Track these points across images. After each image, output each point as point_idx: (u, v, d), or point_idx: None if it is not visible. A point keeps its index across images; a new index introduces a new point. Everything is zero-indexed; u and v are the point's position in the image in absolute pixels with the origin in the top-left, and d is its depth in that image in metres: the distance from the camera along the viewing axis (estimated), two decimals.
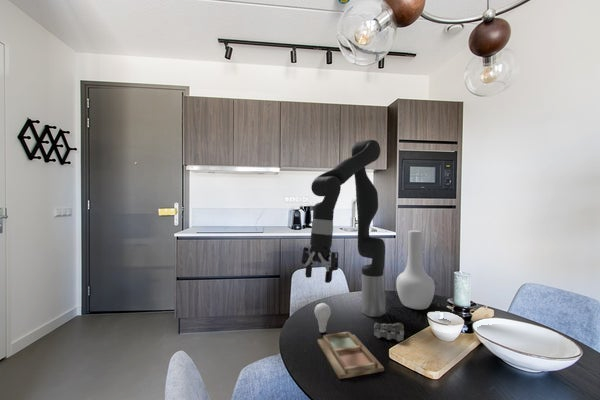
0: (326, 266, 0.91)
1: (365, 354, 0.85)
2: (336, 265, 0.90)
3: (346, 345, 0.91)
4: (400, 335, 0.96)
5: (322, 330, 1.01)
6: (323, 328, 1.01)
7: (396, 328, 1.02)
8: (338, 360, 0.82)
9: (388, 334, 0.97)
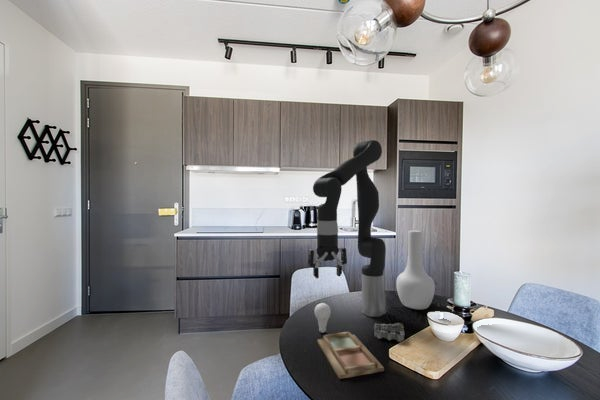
0: (339, 262, 0.99)
1: (365, 354, 0.85)
2: None
3: (346, 345, 0.91)
4: (401, 335, 0.96)
5: (322, 330, 1.01)
6: (323, 328, 1.01)
7: (396, 328, 1.02)
8: (338, 360, 0.82)
9: (389, 334, 0.97)
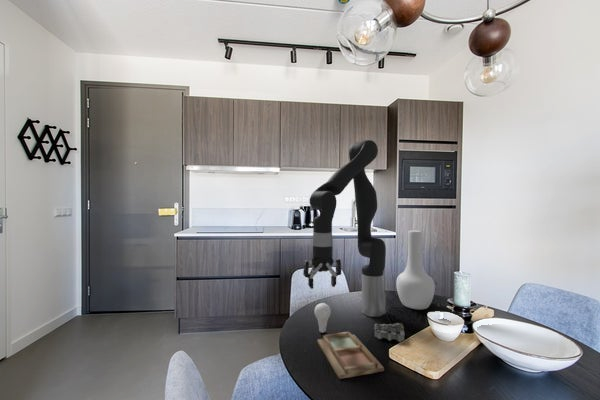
0: (333, 273, 1.02)
1: (365, 354, 0.85)
2: None
3: (346, 345, 0.91)
4: (401, 335, 0.96)
5: (322, 330, 1.01)
6: (323, 328, 1.01)
7: (396, 328, 1.02)
8: (338, 360, 0.82)
9: (389, 335, 0.97)
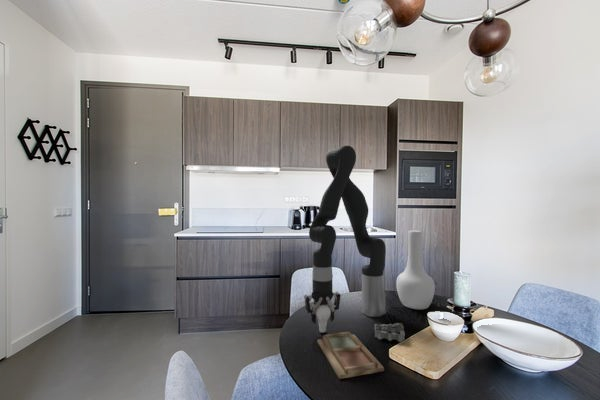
0: (332, 307, 1.02)
1: (365, 354, 0.85)
2: None
3: (346, 345, 0.91)
4: (401, 335, 0.96)
5: (322, 330, 1.01)
6: (323, 328, 1.01)
7: (396, 328, 1.02)
8: (338, 360, 0.82)
9: (389, 335, 0.97)
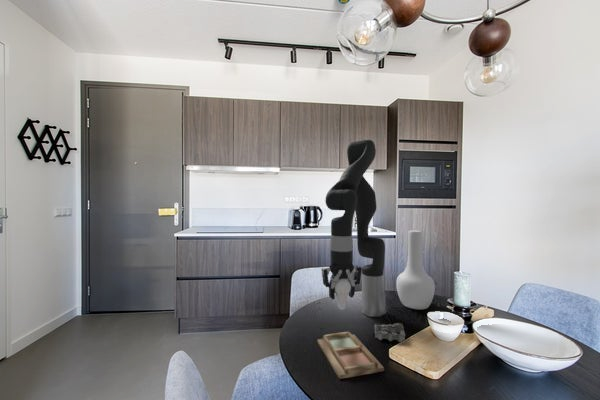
0: (352, 282, 0.92)
1: (365, 354, 0.85)
2: (356, 278, 0.94)
3: (346, 345, 0.91)
4: (402, 335, 0.96)
5: (341, 307, 0.91)
6: (343, 304, 0.91)
7: (396, 328, 1.02)
8: (338, 360, 0.82)
9: (390, 335, 0.96)
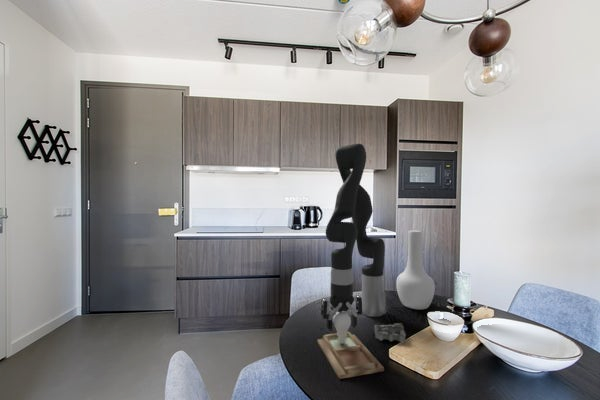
0: (354, 312, 0.92)
1: (365, 354, 0.85)
2: None
3: (346, 345, 0.91)
4: (402, 336, 0.96)
5: (342, 341, 0.91)
6: (343, 339, 0.91)
7: (396, 328, 1.02)
8: (338, 360, 0.82)
9: (391, 336, 0.96)
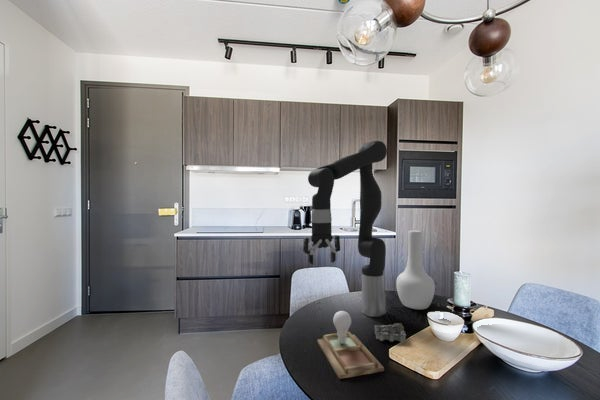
0: (333, 249, 1.04)
1: (365, 354, 0.85)
2: None
3: (346, 345, 0.91)
4: (403, 336, 0.96)
5: (342, 341, 0.91)
6: (343, 339, 0.91)
7: (395, 328, 1.02)
8: (338, 360, 0.82)
9: (391, 336, 0.96)
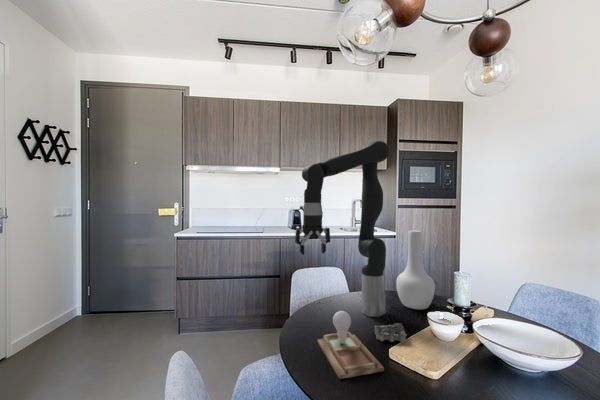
0: (323, 240, 1.10)
1: (365, 354, 0.85)
2: None
3: (346, 345, 0.91)
4: (403, 336, 0.96)
5: (342, 341, 0.91)
6: (343, 339, 0.91)
7: (395, 328, 1.02)
8: (338, 360, 0.82)
9: (392, 336, 0.96)
